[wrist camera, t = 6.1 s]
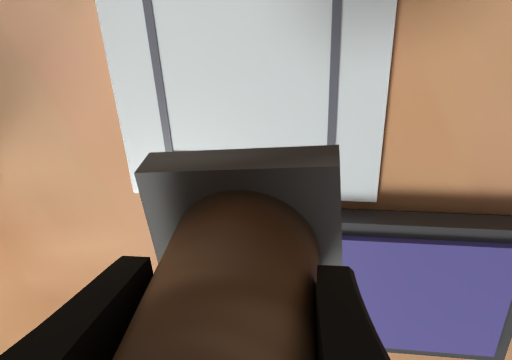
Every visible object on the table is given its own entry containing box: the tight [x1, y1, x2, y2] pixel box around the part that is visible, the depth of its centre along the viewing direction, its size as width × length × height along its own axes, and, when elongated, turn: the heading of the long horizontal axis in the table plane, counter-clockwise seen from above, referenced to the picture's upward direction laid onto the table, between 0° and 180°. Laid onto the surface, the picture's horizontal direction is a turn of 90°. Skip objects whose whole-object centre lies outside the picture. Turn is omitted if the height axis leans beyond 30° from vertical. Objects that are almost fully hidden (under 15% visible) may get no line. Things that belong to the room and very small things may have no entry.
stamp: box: [112, 145, 343, 360], centre depth 9 cm, size 4×4×6 cm
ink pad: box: [341, 209, 512, 360], centre depth 20 cm, size 10×7×1 cm
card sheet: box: [95, 0, 397, 202], centre depth 16 cm, size 10×10×1 cm
